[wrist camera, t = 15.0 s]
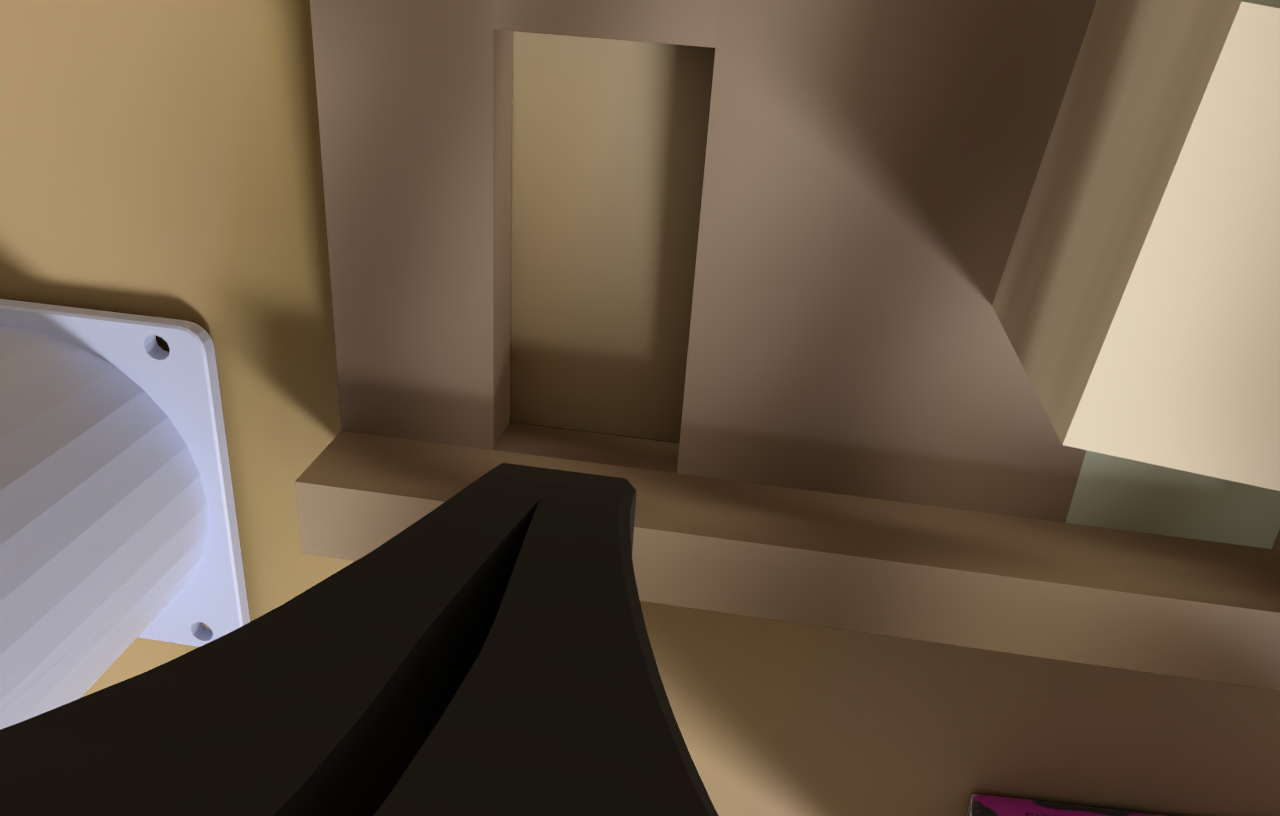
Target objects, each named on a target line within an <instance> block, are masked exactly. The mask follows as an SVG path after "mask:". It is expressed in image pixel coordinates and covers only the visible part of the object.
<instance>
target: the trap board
mask: <svg viewBox="0 0 1280 816" xmlns="http://www.w3.org/2000/svg"><path fill="white" fill-rule="evenodd" d="M1236 1H1242V2H1247V3H1253V4H1258V5H1264V6H1269V7H1274V8H1280V0H1236ZM1096 2H1097V0H310V11H311V25H312V38H313V52H314V65H315V78H316V92H317V105H318V119H319V132H320V146H321V159H322V173H323V186H324V199H325V213H326V226H327V240H328V253H329V267H330V280H331V294H332V307H333V321H334V334H335V347H336V361H337V374H338V388H339V401H340V415H341V428H342V431H341V432H340V433H339V434H338V435H337V436H336V438H335V439H334V440H333V441H332V442H331V443H330V444H329V445H328V446H327V447H326V448H325V449H324V451H323V452H322V453H321V454H320V455H319V456H318V457H317V458H316V459H315V460H314V461H313V462H312V464H311V465H310V466H309V467H308V468H307V469H306V470H305V471H304V472H303V473H302V474H301V475H300V477H299V478H298V479H297V480H296V481H295V489H296V499H297V509H298V519H299V529H300V539H301V549H302V553H303V554H310V555H317V556H324V557H331V558H338V559H345V560H352V561H357V560H358V559H360V558H362V557H363V556H365V555H367V554H368V553H370V552H372V551H373V550H375V549H376V548H378V547H379V546H381V545H382V544H384V543H385V542H387V541H388V540H390V539H391V538H393V537H394V536H396V535H397V534H399V533H400V532H402V531H403V530H405V529H406V528H408V527H409V526H410V525H412V524H413V523H415V522H416V521H418V520H419V519H421V518H422V517H424V516H425V515H427V514H428V513H430V512H431V511H433V510H434V509H436V508H437V507H438V506H440V505H441V504H443V503H444V502H446V501H447V500H449V499H450V498H451V497H453V496H454V495H456V494H457V493H458V492H460V491H461V490H463V489H464V488H466V487H467V486H468V485H470V484H471V483H473V482H474V481H476V480H477V479H479V478H480V477H481V476H483V475H484V474H486V473H487V472H489V471H490V470H492V469H493V468H495V467H497V466H498V465H500V464H501V463H509V464H517V465H525V466H533V467H541V468H549V469H556V470H564V471H572V472H580V473H588V474H596V475H604V476H611V477H619V478H626V479H627V480H628V481H629V482H630V484H631V485H632V486H633V487H634V488H635V489H636V491H637V492H636V506H635V520H634V534H633V548H632V561H633V568H634V574H635V579H636V584H637V589H638V594H639V599H640V601H644V602H651V603H658V604H665V605H672V606H679V607H686V608H693V609H700V610H707V611H715V612H722V613H729V614H736V615H743V616H750V617H757V618H764V619H771V620H778V621H786V622H793V623H800V624H807V625H814V626H821V627H828V628H835V629H842V630H849V631H857V632H864V633H871V634H878V635H885V636H892V637H899V638H906V639H913V640H920V641H928V642H935V643H942V644H949V645H956V646H963V647H970V648H977V649H984V650H991V651H999V652H1006V653H1013V654H1020V655H1027V656H1034V657H1041V658H1048V659H1055V660H1062V661H1070V662H1077V663H1084V664H1091V665H1098V666H1105V667H1112V668H1119V669H1126V670H1134V671H1141V672H1148V673H1155V674H1162V675H1169V676H1176V677H1183V678H1190V679H1197V680H1205V681H1212V682H1219V683H1226V684H1233V685H1240V686H1247V687H1254V688H1261V689H1268V690H1276V691H1280V491H1277V490H1272V489H1267V488H1263V487H1258V486H1253V485H1248V484H1244V483H1239V482H1234V481H1230V480H1225V479H1220V478H1215V477H1211V476H1206V475H1201V474H1197V473H1192V472H1187V471H1182V470H1178V469H1173V468H1168V467H1164V466H1159V465H1154V464H1149V463H1145V462H1140V461H1135V460H1131V459H1126V458H1121V457H1116V456H1112V455H1107V454H1102V453H1098V452H1093V451H1088V450H1083V449H1079V448H1074V447H1069V446H1065V445H1062V443H1061V441H1060V439H1059V437H1058V435H1057V433H1056V432H1055V430H1054V428H1053V426H1052V424H1051V422H1050V420H1049V418H1048V416H1047V414H1046V412H1045V410H1044V408H1043V406H1042V404H1041V402H1040V400H1039V398H1038V396H1037V394H1036V392H1035V390H1034V388H1033V386H1032V384H1031V382H1030V380H1029V378H1028V376H1027V374H1026V372H1025V370H1024V368H1023V366H1022V364H1021V362H1020V360H1019V358H1018V356H1017V354H1016V352H1015V350H1014V348H1013V346H1012V344H1011V342H1010V340H1009V338H1008V336H1007V334H1006V332H1005V331H1004V329H1003V327H1002V325H1001V323H1000V321H999V319H998V317H997V315H996V313H995V311H994V309H993V307H992V304H993V301H994V298H995V295H996V292H997V289H998V287H999V284H1000V281H1001V278H1002V275H1003V272H1004V269H1005V266H1006V263H1007V260H1008V258H1009V255H1010V252H1011V249H1012V246H1013V243H1014V240H1015V237H1016V234H1017V231H1018V228H1019V226H1020V223H1021V220H1022V217H1023V214H1024V211H1025V208H1026V205H1027V202H1028V199H1029V196H1030V194H1031V191H1032V188H1033V185H1034V182H1035V179H1036V176H1037V173H1038V170H1039V167H1040V164H1041V162H1042V159H1043V156H1044V153H1045V150H1046V147H1047V144H1048V141H1049V138H1050V135H1051V132H1052V130H1053V127H1054V124H1055V121H1056V118H1057V115H1058V112H1059V109H1060V106H1061V103H1062V100H1063V98H1064V95H1065V92H1066V89H1067V86H1068V83H1069V80H1070V77H1071V74H1072V71H1073V69H1074V66H1075V63H1076V60H1077V57H1078V54H1079V51H1080V48H1081V45H1082V42H1083V39H1084V37H1085V34H1086V31H1087V28H1088V25H1089V22H1090V19H1091V16H1092V13H1093V10H1094V7H1095V5H1096ZM513 31H519V32H532V33H544V34H556V35H568V36H580V37H592V38H604V39H616V40H628V41H640V42H652V43H664V44H676V45H688V46H700V47H712V48H715V58H714V69H713V80H712V91H711V102H710V113H709V124H708V135H707V146H706V157H705V168H704V179H703V190H702V201H701V212H700V223H699V234H698V245H697V256H696V267H695V278H694V289H693V300H692V311H691V322H690V333H689V344H688V355H687V366H686V377H685V388H684V399H683V410H682V421H681V432H680V443H672V442H664V441H656V440H648V439H640V438H632V437H624V436H616V435H608V434H600V433H592V432H584V431H575V430H567V429H559V428H551V427H543V426H535V425H527V424H519V423H511V422H510V341H511V210H512V79H513Z"/></svg>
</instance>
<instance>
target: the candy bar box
mask: <svg viewBox="0 0 1280 816" xmlns="http://www.w3.org/2000/svg"><path fill="white" fill-rule="evenodd" d="M967 816H1169V815H1159V814H1150V813H1142V812H1134V811H1126V810H1117V809H1108V808H1099V807H1090V806H1081V805H1071V804H1061V803H1054V802H1048V801H1039V800H1028V799H1019V798H1009V797H1001V796H993V795H984V794H972V796H971V799H970V804H969V808H968V812H967Z"/></svg>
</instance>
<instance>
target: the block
mask: <svg viewBox="0 0 1280 816" xmlns="http://www.w3.org/2000/svg"><path fill="white" fill-rule="evenodd" d="M992 307H993V309H994V311H995V313H996V315H997V317H998V319H999V321H1000V323H1001V325H1002V327H1003V329H1004V331H1005V332H1006V334H1007V336H1008V338H1009V340H1010V342H1011V344H1012V346H1013V348H1014V350H1015V352H1016V354H1017V356H1018V358H1019V360H1020V362H1021V364H1022V366H1023V368H1024V370H1025V372H1026V374H1027V376H1028V378H1029V380H1030V382H1031V384H1032V386H1033V388H1034V390H1035V392H1036V394H1037V396H1038V398H1039V400H1040V402H1041V404H1042V406H1043V408H1044V410H1045V412H1046V414H1047V416H1048V418H1049V420H1050V422H1051V424H1052V426H1053V428H1054V430H1055V432H1056V433H1057V435H1058V437H1059V439H1060V441H1061V443H1062V445H1065V446H1069V447H1074V448H1079V449H1083V450H1088V451H1093V452H1098V453H1102V454H1107V455H1112V456H1116V457H1121V458H1126V459H1131V460H1135V461H1140V462H1145V463H1149V464H1154V465H1159V466H1164V467H1168V468H1173V469H1178V470H1182V471H1187V472H1192V473H1197V474H1201V475H1206V476H1211V477H1215V478H1220V479H1225V480H1230V481H1234V482H1239V483H1244V484H1248V485H1253V486H1258V487H1263V488H1267V489H1272V490H1277V491H1280V8H1274V7H1269V6H1264V5H1258V4H1253V3H1247V2H1242V1H1236V0H1097V2H1096V5H1095V7H1094V10H1093V13H1092V16H1091V19H1090V22H1089V25H1088V28H1087V31H1086V34H1085V37H1084V39H1083V42H1082V45H1081V48H1080V51H1079V54H1078V57H1077V60H1076V63H1075V66H1074V69H1073V71H1072V74H1071V77H1070V80H1069V83H1068V86H1067V89H1066V92H1065V95H1064V98H1063V100H1062V103H1061V106H1060V109H1059V112H1058V115H1057V118H1056V121H1055V124H1054V127H1053V130H1052V132H1051V135H1050V138H1049V141H1048V144H1047V147H1046V150H1045V153H1044V156H1043V159H1042V162H1041V164H1040V167H1039V170H1038V173H1037V176H1036V179H1035V182H1034V185H1033V188H1032V191H1031V194H1030V196H1029V199H1028V202H1027V205H1026V208H1025V211H1024V214H1023V217H1022V220H1021V223H1020V226H1019V228H1018V231H1017V234H1016V237H1015V240H1014V243H1013V246H1012V249H1011V252H1010V255H1009V258H1008V260H1007V263H1006V266H1005V269H1004V272H1003V275H1002V278H1001V281H1000V284H999V287H998V289H997V292H996V295H995V298H994V301H993V304H992Z"/></svg>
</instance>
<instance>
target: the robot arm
mask: <svg viewBox="0 0 1280 816" xmlns="http://www.w3.org/2000/svg"><path fill="white" fill-rule="evenodd" d="M156 336H159V337H162V338H163V339H164V340H165V341H166V342H167V344H168V346H169V349H170V351H169V352H167V351H164V350H163V349H162V348H161V347H160V346H159V345H158V343H157V341H156ZM636 492H637V491H636V489H635V488H634V487H633V486H632V485H631V484H630V482H629V481H628V480H627V479H626V478H619V477H611V476H604V475H596V474H588V473H580V472H572V471H564V470H556V469H549V468H541V467H533V466H525V465H517V464H509V463H501V464H500V465H498V466H497V467H495V468H493V469H492V470H490V471H489V472H487V473H486V474H484V475H483V476H481V477H480V478H479V479H477V480H476V481H474V482H473V483H471V484H470V485H468V486H467V487H466V488H464V489H463V490H461V491H460V492H458V493H457V494H456V495H454V496H453V497H451V498H450V499H449V500H447V501H446V502H444V503H443V504H441V505H440V506H438V507H437V508H436V509H434V510H433V511H431V512H430V513H428V514H427V515H425V516H424V517H422V518H421V519H419V520H418V521H416V522H415V523H413V524H412V525H410V526H409V527H408V528H406V529H405V530H403V531H402V532H400V533H399V534H397V535H396V536H394V537H393V538H391V539H390V540H388V541H387V542H385V543H384V544H382V545H381V546H379V547H378V548H376V549H375V550H373V551H372V552H370V553H368V554H367V555H365V556H363V557H362V558H360V559H358V560H357V561H355V562H353V563H352V564H350V565H348V566H347V567H345V568H343V569H342V570H340V571H338V572H337V573H335V574H333V575H332V576H330V577H328V578H327V579H325V580H323V581H322V582H320V583H318V584H316V585H315V586H313V587H311V588H310V589H308V590H306V591H305V592H303V593H301V594H300V595H298V596H296V597H295V598H293V599H291V600H290V601H288V602H286V603H285V604H283V605H281V606H279V607H277V608H276V609H274V610H272V611H270V612H268V613H266V614H265V615H263V616H261V617H259V618H257V619H255V620H253V621H251V622H250V618H249V610H248V602H247V595H246V587H245V580H244V572H243V564H242V557H241V549H240V541H239V534H238V526H237V519H236V511H235V503H234V496H233V488H232V481H231V473H230V465H229V458H228V450H227V442H226V435H225V427H224V420H223V412H222V404H221V397H220V389H219V381H218V374H217V366H216V359H215V351H214V345H213V342H212V339H211V337H210V336H209V334H208V333H207V332H206V330H205V329H203V328H202V327H201V326H199V325H198V324H196V323H193V322H190V321H186V320H178V319H169V318H161V317H152V316H144V315H135V314H127V313H118V312H110V311H101V310H92V309H84V308H75V307H67V306H58V305H50V304H41V303H33V302H24V301H16V300H7V299H0V816H718V814H717V812H716V810H715V808H714V806H713V804H712V802H711V800H710V798H709V796H708V793H707V791H706V789H705V787H704V785H703V782H702V780H701V778H700V776H699V774H698V771H697V769H696V767H695V765H694V763H693V761H692V758H691V756H690V754H689V751H688V749H687V746H686V744H685V742H684V739H683V737H682V734H681V732H680V729H679V727H678V724H677V722H676V719H675V717H674V714H673V712H672V709H671V706H670V703H669V701H668V698H667V695H666V692H665V689H664V686H663V683H662V680H661V677H660V675H659V671H658V668H657V665H656V661H655V658H654V655H653V651H652V648H651V645H650V641H649V638H648V634H647V630H646V626H645V622H644V618H643V614H642V610H641V604H640V599H639V594H638V589H637V584H636V579H635V574H634V568H633V561H632V548H633V534H634V520H635V506H636ZM202 623H204V624H206V625H207V626H209V627H210V628H211V630H210V629H208V628H206V627H205V626H204V625H203V624H202ZM137 637H139V638H145V639H152V640H159V641H165V642H172V643H178V644H185V645H191V646H198V647H199V648H197V649H194V650H192V651H190V652H188V653H186V654H184V655H182V656H180V657H178V658H176V659H174V660H171V661H169V662H167V663H165V664H163V665H160V666H158V667H156V668H154V669H151V670H149V671H147V672H145V673H142V674H140V675H137V676H135V677H132V678H130V679H127V680H125V681H122V682H120V683H117V684H115V685H112V686H110V687H107V688H105V689H102V690H100V691H97V692H95V693H92V694H90V695H87V696H85V697H82V696H83V694H84V693H85V692H86V691H87V690H88V689H89V688H90V687H91V686H92V685H93V684H94V683H95V682H96V681H97V680H98V679H99V677H100V676H101V675H102V674H103V673H104V672H105V671H106V670H107V669H108V668H109V667H110V666H111V665H112V664H113V663H114V662H115V660H116V659H117V658H118V657H119V656H120V655H121V654H122V653H123V652H124V651H125V650H126V649H127V648H128V647H129V646H130V645H131V643H132V642H133V641H134V640H135V639H136V638H137ZM81 697H82V698H81Z"/></svg>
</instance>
